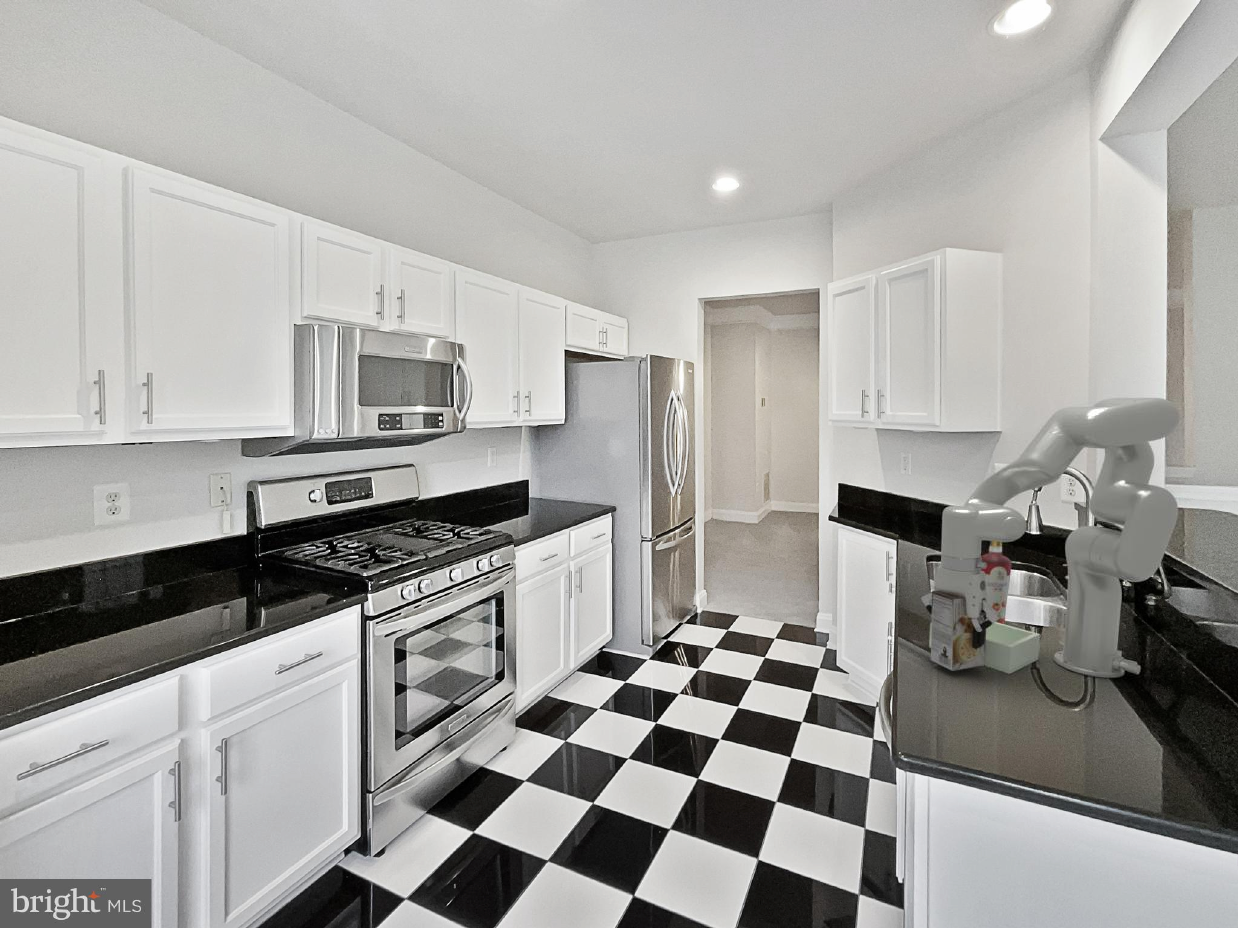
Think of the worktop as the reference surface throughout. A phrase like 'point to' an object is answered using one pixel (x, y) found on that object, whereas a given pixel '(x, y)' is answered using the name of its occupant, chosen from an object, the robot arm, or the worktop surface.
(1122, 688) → the worktop surface
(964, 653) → the coffee box
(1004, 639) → the bin
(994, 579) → the liquor
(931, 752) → the worktop surface
